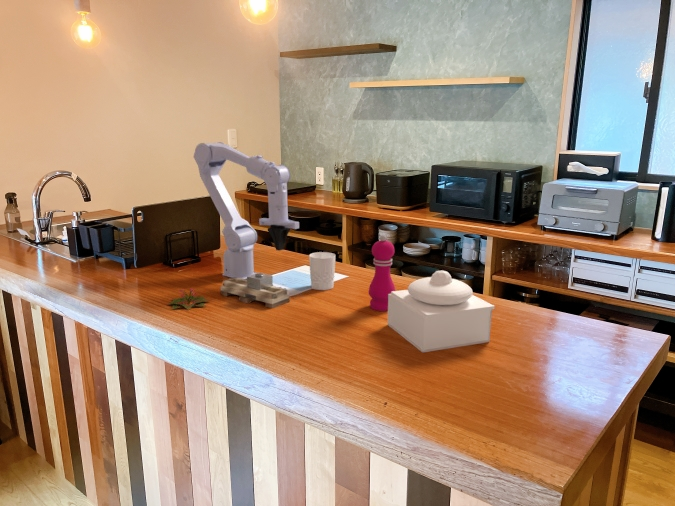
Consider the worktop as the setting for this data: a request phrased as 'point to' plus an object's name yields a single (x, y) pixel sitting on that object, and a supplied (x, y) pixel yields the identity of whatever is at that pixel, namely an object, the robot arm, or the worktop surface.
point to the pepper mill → (381, 274)
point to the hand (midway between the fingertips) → (279, 249)
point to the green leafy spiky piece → (188, 301)
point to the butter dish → (439, 314)
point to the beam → (255, 293)
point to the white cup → (322, 270)
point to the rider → (259, 281)
